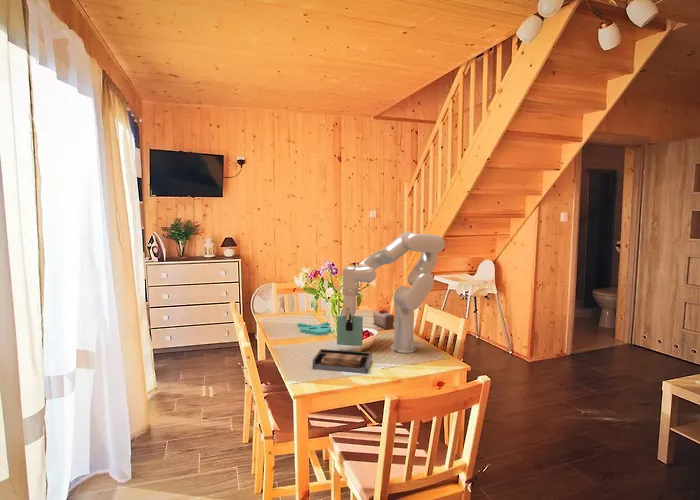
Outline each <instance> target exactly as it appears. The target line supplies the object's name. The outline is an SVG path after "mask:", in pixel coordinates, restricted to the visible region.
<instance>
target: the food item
mask: <svg viewBox="0 0 700 500" xmlns="http://www.w3.org/2000/svg"><path fill="white" fill-rule="evenodd" d="M372 315H373V318H372V319H373V325H374V324H375V325H374V326H377V325H378V326H379V327H380V328H382V329H385V330H390V329H394V323H395V314H392V313H389V312H388V310H387V309H386V310H385V309H380V310H379V309H378V310H374V311H373V313H372ZM378 326H377V327H378Z"/></svg>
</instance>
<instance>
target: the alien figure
mask: <svg viewBox="0 0 700 500" xmlns="http://www.w3.org/2000/svg"><path fill="white" fill-rule="evenodd" d="M328 321H329V320H327V321H324V322H323V323H321V324H314V325H313V324H311V323H310V324H307V323H302V322H298V323H297V327H298V328H299V329H300V333H303V334H304V333H305V334H308V335H309V334H310V335H315V336H324V335H325V336H327V335H329V334H331V327H330V325H329V323H328Z"/></svg>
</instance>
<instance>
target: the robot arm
mask: <svg viewBox="0 0 700 500" xmlns="http://www.w3.org/2000/svg"><path fill="white" fill-rule="evenodd" d="M445 244H446V243H445V240H444V238H443V237H441V236H440V235H437V234H432V233H425V234H423V233H417V232H413V231H404V232H402V233H401V234H400V235H398V236H397V237H396V238H394V239H393V240H392V241H391V242H390V243H388V244H387V245H386V246H384V247H383V248H380V250H377V251H375V252H374V253H372V254H370V255H369V256H367V257H366V258H364V259H363V260H362V261H361V262H359V263H358V265H357V266H355V265H345V266H344V267H343V268H342V296H343V301H342V315H343V317H344V316H345V315H346V331H352V330H353V323H352V317H353V316H355V314H356V313H357V297H358V296H359V282H361V283H371V282H373V281H374V280H375V279H376V277H377V272H376V269H378V268H379V267H382V266H385V265H390V264H393V263H395V262H397V260H399V259H400V258H401V257H403V256H404V255H405V254H406V253H408V252H409V251H412V252H419V253H420V257H419V258H418V261H417V262H416V263H415V265H414V266H413V267H412V268H411V270H410V272H409V273H408V275H407V282H408V284H409V285H410V287H408V286H406V285H401V286H399V287H397V288H396V289H395V290H394V293H393V304H394V305H393V306H394V307H393V308H394V327H393V329H394V331H393V332H394V333H393V335H394V336H393V343H392V344H391V345H390V349H391V350H393V351H394V352H396V353H401V354H410V353H414V352H416V350H417V348H423V343H421V342H420V341H419V342H418V341H415V338H414V333H415V332H414V329H415V328H414V327H415V323H414V322H415V312H414V311H415V310H417V309H419V308H420V307H421V306H422V305H423V303H424V301H425V300H426V298H427V296H429V294H430V292H431V291H432V290H433V287H434V283H435V279H434V276H433V275H432V272H433V270H434V268H435V266H437V263H438V253H439V254H440V253H441V252H442V251H443V250H444V248H445ZM350 318H351V319H350Z"/></svg>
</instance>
